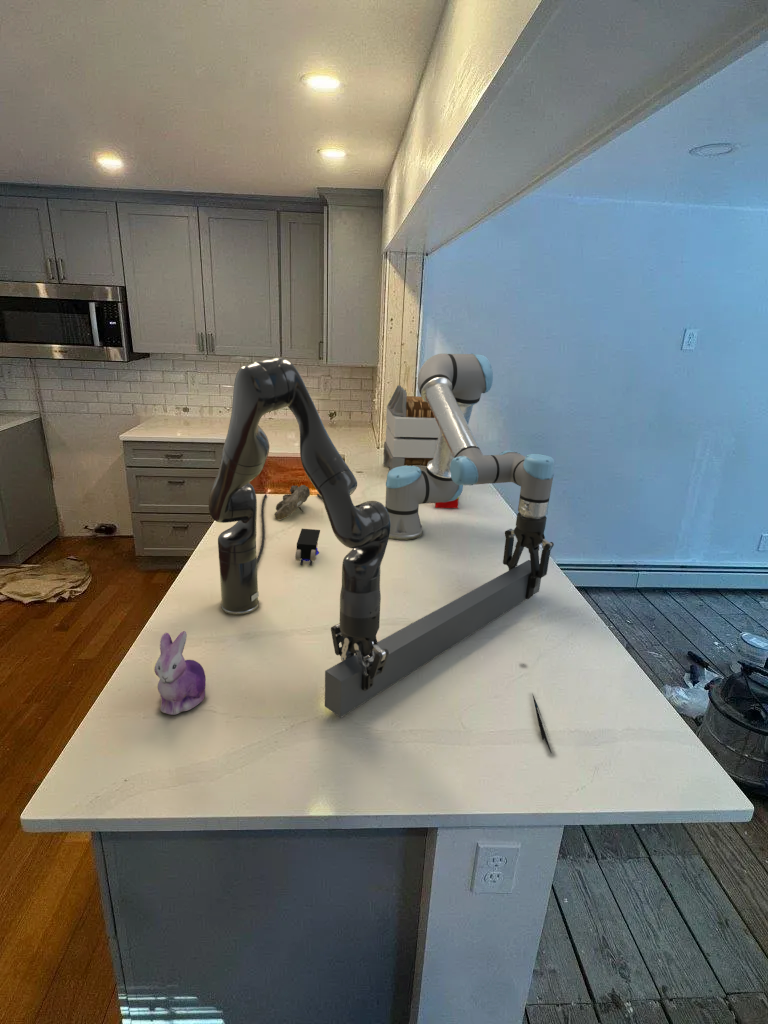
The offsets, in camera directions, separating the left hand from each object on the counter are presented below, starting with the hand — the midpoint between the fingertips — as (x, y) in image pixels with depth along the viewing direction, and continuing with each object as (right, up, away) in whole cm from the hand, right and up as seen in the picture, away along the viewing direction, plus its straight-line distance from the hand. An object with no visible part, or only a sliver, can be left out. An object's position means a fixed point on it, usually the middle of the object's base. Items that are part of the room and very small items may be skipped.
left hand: (357, 682), depth 111 cm
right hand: (+43, +11, +44) cm, 62 cm away
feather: (+36, -6, +4) cm, 37 cm away
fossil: (-29, +34, +105) cm, 114 cm away
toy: (+30, +39, +129) cm, 138 cm away
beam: (+21, +4, +23) cm, 31 cm away
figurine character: (-18, +19, +66) cm, 71 cm away
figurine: (-34, -4, +1) cm, 35 cm away
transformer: (+23, +52, +164) cm, 173 cm away
